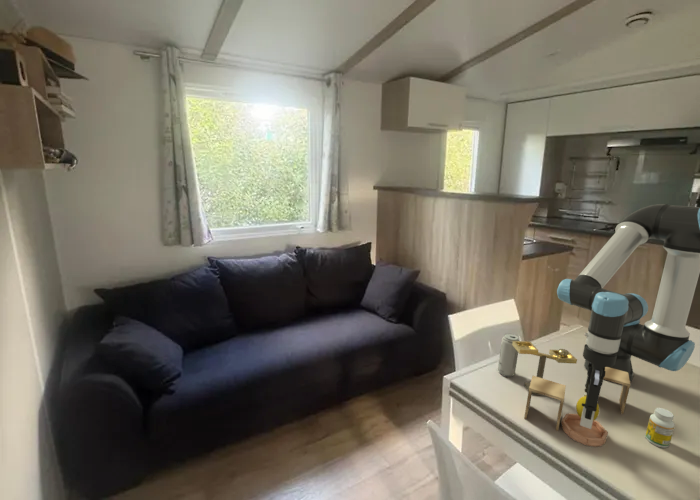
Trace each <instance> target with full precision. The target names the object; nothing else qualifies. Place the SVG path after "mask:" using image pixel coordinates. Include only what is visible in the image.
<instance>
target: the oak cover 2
mask: <svg viewBox="0 0 700 500" xmlns="http://www.w3.org/2000/svg"><path fill="white" fill-rule="evenodd" d="M605 371H606V372H605V377H604V378H603V380H604V379H605V380H606V381H608V382H611V381H612V382H613V383H616V384H620V385H622V388H621V390H620V391H621V392H620V395H619V409H620V414H621V415H624V413H625V409H626V403H627V401H628V400H627V399H628V396H629V392H630V387H631V381H630V380H629V374H628V372H625V371H621V370H617V369H613V368H610V367H605Z"/></svg>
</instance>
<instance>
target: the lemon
mask: <svg viewBox="0 0 700 500" xmlns="http://www.w3.org/2000/svg"><path fill="white" fill-rule="evenodd" d="M585 401H586V396H584V395H583V396H581V397H580V398H579V399H578V400H577V402H576V407H575V409H576V414H578V415H579V417H580V418H581V416H582V412H583V407H584V406H582V403H583V404H585ZM599 414H600V406H599V403H598V404H597V411H596V412H595V414H594V418H593V421H594V420H596V419H598V417H599Z"/></svg>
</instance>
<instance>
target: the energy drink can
mask: <svg viewBox="0 0 700 500" xmlns="http://www.w3.org/2000/svg"><path fill="white" fill-rule="evenodd" d="M513 341H520V339H519V336H517V335H516V334H514V333H513V334H512V333H505V334H504V335H503V337H502V338H501V343H500V351H499V356H498V357H499V358H498V365H497V371H498V373H499V374H500V375H501V376H503V377H505V378H511V377H513V376H514V375H515V374H516V368H517V363H518V355H519V353H518V351H517V350H516V349H515V348H514V346H513V345H512V343H513Z"/></svg>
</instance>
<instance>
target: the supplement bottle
mask: <svg viewBox="0 0 700 500" xmlns="http://www.w3.org/2000/svg"><path fill="white" fill-rule="evenodd" d="M674 416H675V415H674V414H673V412H671V411H670V410H668V409H666V408H663V407H656V408H655V409H654V412H653V413H652V414H651V415H650V416H649V419H648V423H647V427H646V431H645V435H644V436H645V438H646V440H647V441H648V442H649V443H650V444H652V445H653V446H655V447H659V448H662V449H665V448H669V447H670V444H671V440H672V436H673V433H674V430H675V422H674V421H673V420H674Z"/></svg>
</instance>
